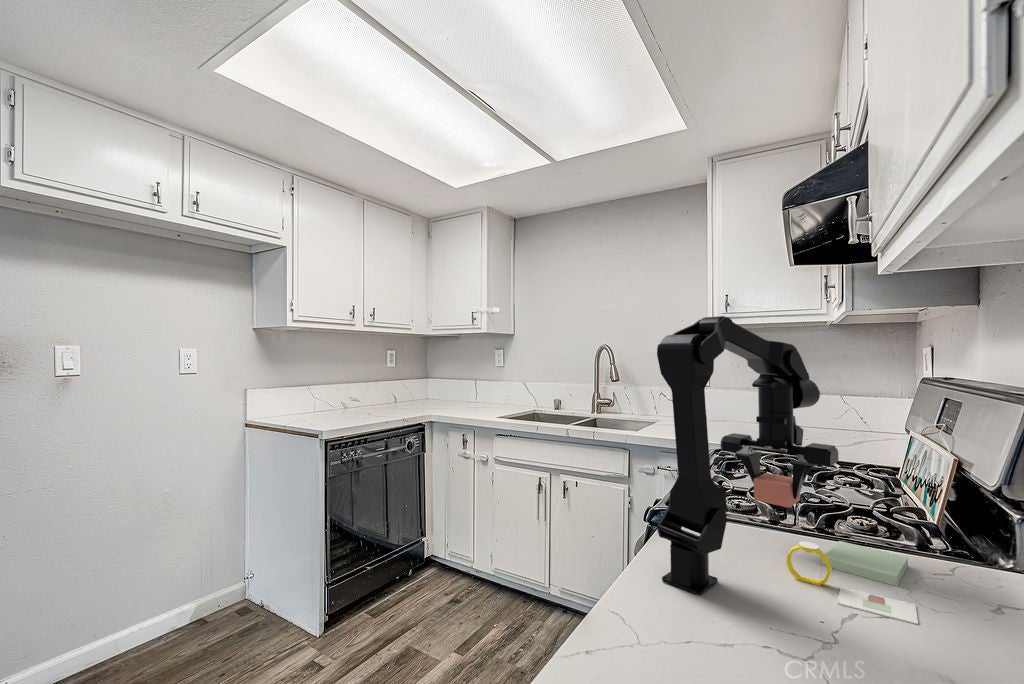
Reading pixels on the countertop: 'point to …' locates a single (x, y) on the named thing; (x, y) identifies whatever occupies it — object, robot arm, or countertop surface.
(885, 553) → the baseplate
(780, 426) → the robot arm
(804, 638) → the countertop surface
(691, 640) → the countertop surface
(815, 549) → the watch
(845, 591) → the page
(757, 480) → the brick
